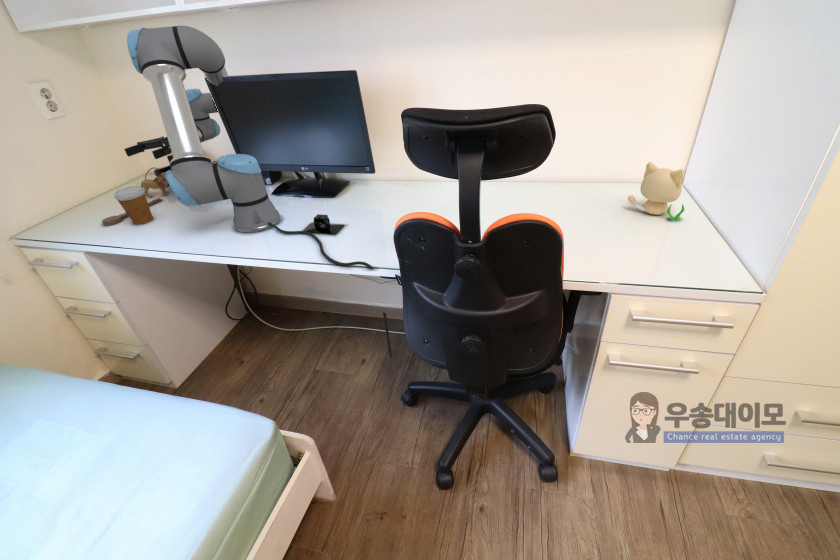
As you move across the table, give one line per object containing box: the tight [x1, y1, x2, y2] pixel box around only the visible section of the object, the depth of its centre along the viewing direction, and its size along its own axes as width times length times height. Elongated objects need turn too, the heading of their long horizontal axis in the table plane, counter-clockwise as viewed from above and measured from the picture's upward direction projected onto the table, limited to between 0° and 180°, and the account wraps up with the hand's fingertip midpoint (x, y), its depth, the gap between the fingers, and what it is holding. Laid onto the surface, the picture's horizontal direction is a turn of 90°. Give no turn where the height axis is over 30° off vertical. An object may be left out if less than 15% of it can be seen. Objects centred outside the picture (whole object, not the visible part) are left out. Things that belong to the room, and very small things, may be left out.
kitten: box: [627, 161, 686, 222], centre depth 117 cm, size 15×10×15 cm
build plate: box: [302, 214, 346, 236], centre depth 128 cm, size 12×7×5 cm, turn 75°
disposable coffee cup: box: [113, 185, 154, 226], centre depth 142 cm, size 10×10×12 cm
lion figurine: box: [140, 172, 169, 198], centre depth 167 cm, size 15×5×9 cm, turn 104°
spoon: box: [101, 197, 163, 227], centre depth 153 cm, size 6×24×2 cm, turn 159°
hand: (140, 154), depth 141 cm, fingers open, 13 cm apart
